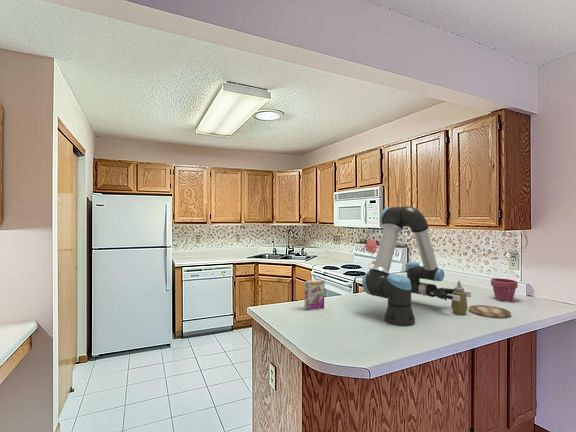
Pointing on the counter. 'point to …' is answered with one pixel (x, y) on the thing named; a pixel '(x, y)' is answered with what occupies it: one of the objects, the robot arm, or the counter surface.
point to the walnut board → (489, 311)
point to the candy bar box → (314, 294)
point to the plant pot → (504, 288)
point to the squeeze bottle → (461, 305)
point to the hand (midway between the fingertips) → (465, 296)
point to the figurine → (371, 248)
